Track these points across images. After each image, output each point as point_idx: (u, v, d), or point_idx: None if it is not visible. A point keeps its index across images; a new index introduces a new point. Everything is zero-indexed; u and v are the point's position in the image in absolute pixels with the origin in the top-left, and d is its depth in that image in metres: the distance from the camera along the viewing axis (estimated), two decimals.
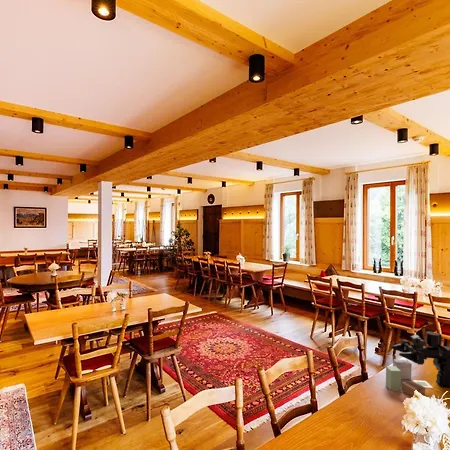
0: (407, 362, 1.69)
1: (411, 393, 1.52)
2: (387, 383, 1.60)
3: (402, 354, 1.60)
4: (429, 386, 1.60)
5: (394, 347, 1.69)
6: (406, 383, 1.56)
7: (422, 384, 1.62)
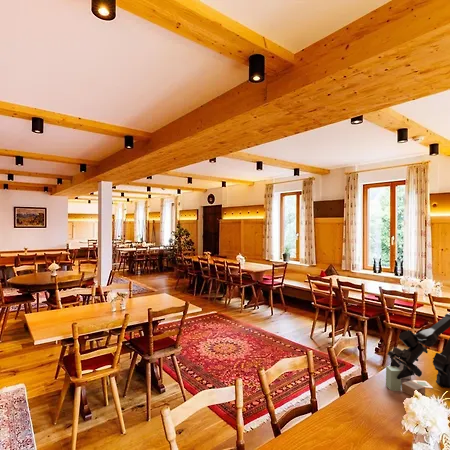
0: None
1: (412, 393, 1.52)
2: (387, 383, 1.60)
3: (399, 377, 1.55)
4: (429, 386, 1.60)
5: None
6: (406, 383, 1.56)
7: (422, 384, 1.62)
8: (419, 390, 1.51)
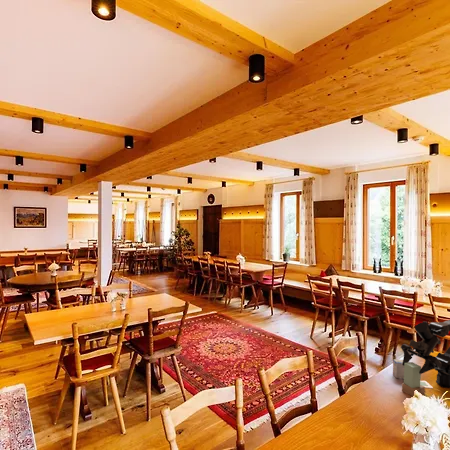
0: None
1: (413, 394, 1.51)
2: (405, 381, 1.55)
3: (422, 371, 1.50)
4: (429, 386, 1.60)
5: None
6: None
7: (422, 384, 1.62)
8: (420, 390, 1.52)
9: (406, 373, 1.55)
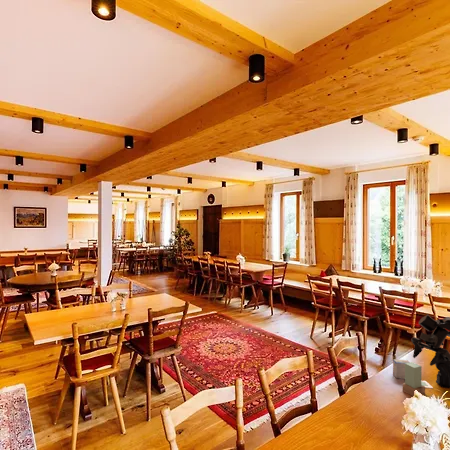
0: (407, 362, 1.69)
1: None
2: (407, 381, 1.55)
3: (432, 363, 1.55)
4: (429, 386, 1.60)
5: (415, 355, 1.64)
6: None
7: (422, 384, 1.62)
8: (420, 390, 1.52)
9: (407, 374, 1.55)
